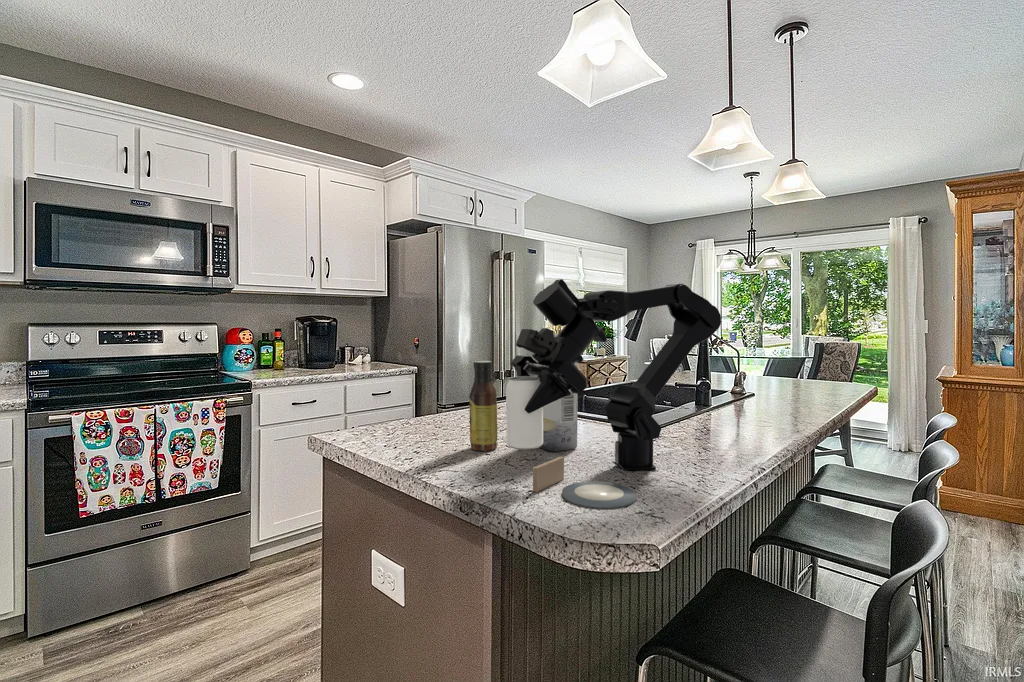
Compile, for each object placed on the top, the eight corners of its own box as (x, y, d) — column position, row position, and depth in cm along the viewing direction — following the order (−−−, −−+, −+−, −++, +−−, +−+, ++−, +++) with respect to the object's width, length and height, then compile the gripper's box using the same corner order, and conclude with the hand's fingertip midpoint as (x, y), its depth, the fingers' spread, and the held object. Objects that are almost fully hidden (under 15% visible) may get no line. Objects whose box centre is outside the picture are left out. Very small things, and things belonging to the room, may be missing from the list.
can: (507, 450, 89) (506, 380, 89) (506, 441, 95) (505, 376, 95) (545, 449, 89) (544, 379, 89) (541, 440, 96) (540, 375, 95)
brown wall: (560, 478, 95) (560, 456, 95) (563, 479, 95) (563, 457, 95) (533, 491, 88) (532, 467, 88) (536, 492, 88) (536, 468, 87)
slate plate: (625, 483, 92) (625, 480, 92) (646, 507, 80) (646, 503, 80) (557, 484, 91) (557, 481, 91) (568, 509, 79) (568, 505, 79)
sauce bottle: (477, 444, 122) (477, 359, 121) (502, 446, 120) (501, 360, 119) (464, 450, 116) (464, 361, 115) (489, 453, 114) (489, 362, 113)
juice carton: (556, 440, 126) (556, 328, 125) (583, 449, 117) (583, 329, 116) (524, 444, 122) (524, 328, 121) (550, 454, 113) (550, 329, 112)
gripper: (519, 313, 102) (467, 373, 97) (571, 311, 85) (511, 384, 80) (554, 352, 105) (506, 411, 101) (611, 358, 89) (555, 429, 84)
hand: (517, 408), depth 92 cm, fingers closed on can, 6 cm apart
